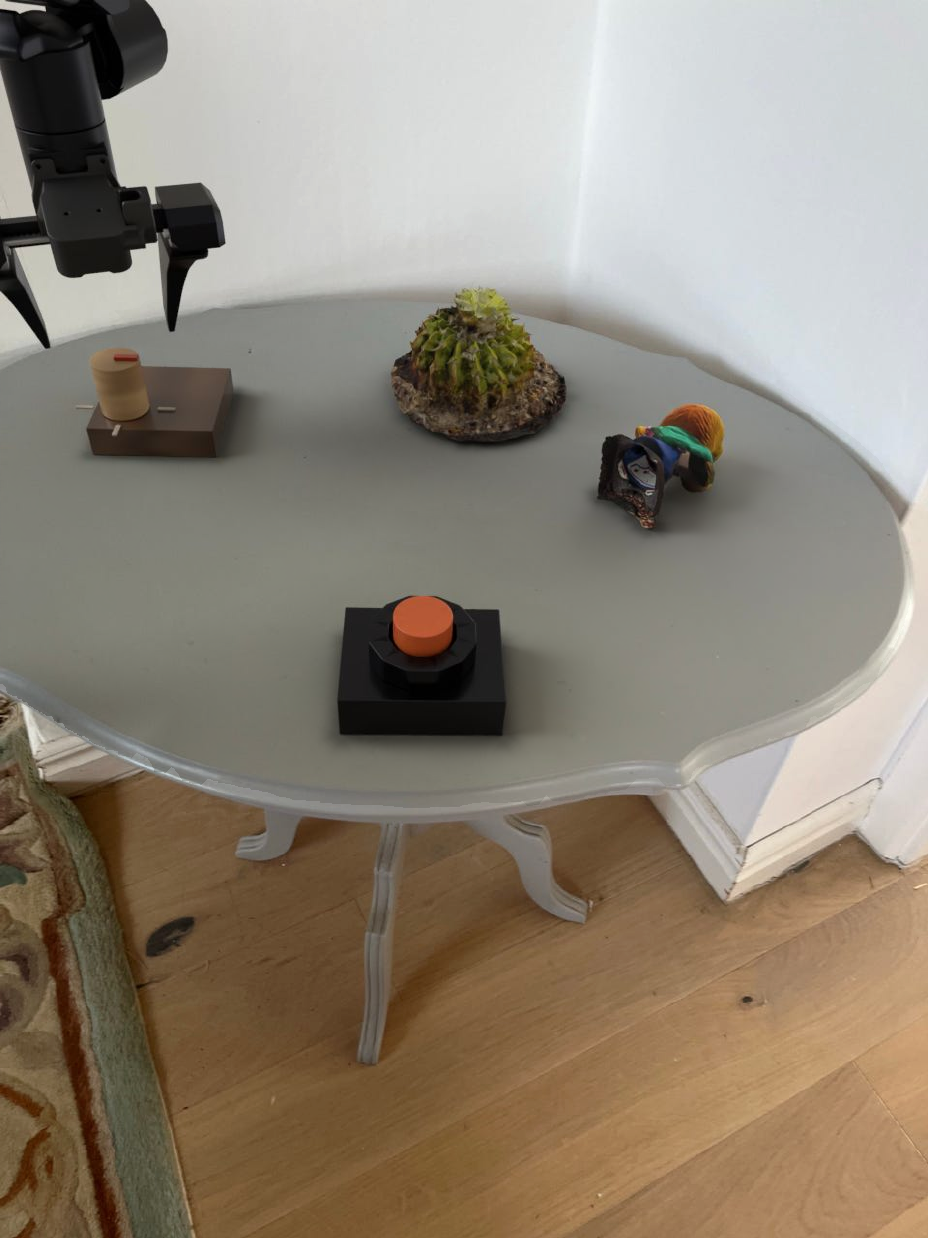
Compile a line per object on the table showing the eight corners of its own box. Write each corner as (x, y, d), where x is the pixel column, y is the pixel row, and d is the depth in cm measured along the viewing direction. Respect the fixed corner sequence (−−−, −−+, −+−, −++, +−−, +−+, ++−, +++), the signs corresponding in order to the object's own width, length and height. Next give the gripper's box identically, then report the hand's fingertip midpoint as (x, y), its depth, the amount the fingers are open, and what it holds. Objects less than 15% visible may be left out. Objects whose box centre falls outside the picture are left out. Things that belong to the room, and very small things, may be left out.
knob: (96, 420, 77) (82, 367, 74) (107, 395, 80) (95, 342, 77) (144, 421, 78) (132, 368, 74) (154, 396, 80) (143, 344, 77)
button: (392, 657, 57) (392, 636, 56) (393, 615, 60) (393, 594, 59) (452, 658, 57) (453, 637, 56) (451, 616, 60) (452, 595, 59)
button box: (339, 734, 59) (335, 679, 55) (347, 641, 64) (344, 586, 61) (502, 736, 59) (508, 681, 56) (496, 643, 65) (501, 588, 61)
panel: (70, 461, 78) (62, 433, 76) (103, 389, 85) (97, 362, 84) (214, 464, 78) (209, 436, 76) (234, 393, 86) (230, 366, 84)
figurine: (686, 446, 83) (701, 382, 79) (748, 492, 78) (768, 427, 74) (581, 484, 78) (591, 419, 74) (641, 536, 74) (654, 469, 70)
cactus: (574, 449, 82) (589, 344, 75) (387, 444, 81) (385, 338, 75) (557, 349, 94) (568, 251, 88) (394, 344, 94) (393, 245, 87)
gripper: (-98, 176, 55) (-16, 411, 66) (226, 149, 61) (253, 370, 72) (-95, 115, 63) (-21, 336, 74) (194, 96, 68) (223, 304, 79)
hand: (110, 337), depth 74 cm, fingers open, 9 cm apart
